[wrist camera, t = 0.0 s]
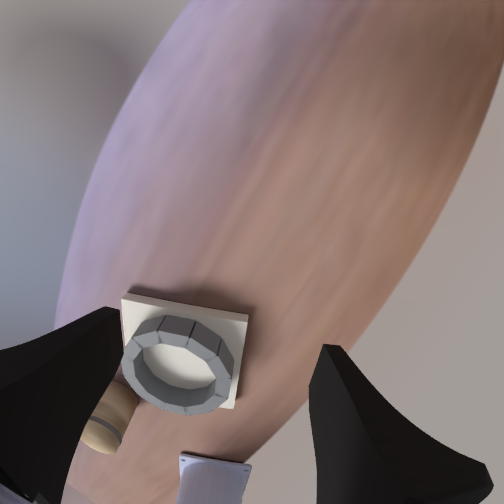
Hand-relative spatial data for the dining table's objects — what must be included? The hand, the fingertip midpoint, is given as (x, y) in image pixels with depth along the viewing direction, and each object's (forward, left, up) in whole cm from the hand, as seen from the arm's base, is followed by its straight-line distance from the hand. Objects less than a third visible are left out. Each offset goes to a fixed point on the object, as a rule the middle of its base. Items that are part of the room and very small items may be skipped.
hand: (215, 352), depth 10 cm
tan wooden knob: (-16, +10, -10) cm, 22 cm away
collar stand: (-9, +3, -10) cm, 14 cm away
